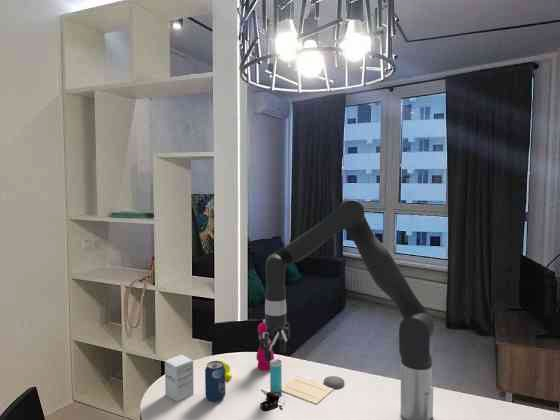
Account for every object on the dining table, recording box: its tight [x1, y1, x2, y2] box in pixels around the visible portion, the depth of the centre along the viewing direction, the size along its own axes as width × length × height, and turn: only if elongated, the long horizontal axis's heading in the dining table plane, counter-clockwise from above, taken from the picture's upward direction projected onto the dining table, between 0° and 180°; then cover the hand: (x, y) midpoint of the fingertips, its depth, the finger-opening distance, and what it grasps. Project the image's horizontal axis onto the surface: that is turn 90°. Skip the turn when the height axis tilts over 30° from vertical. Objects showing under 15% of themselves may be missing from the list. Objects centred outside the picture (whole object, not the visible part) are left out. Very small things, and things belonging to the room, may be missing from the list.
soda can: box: [204, 360, 226, 403], centre depth 134 cm, size 7×7×12 cm
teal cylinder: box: [269, 358, 283, 397], centre depth 136 cm, size 4×4×12 cm
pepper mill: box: [255, 318, 275, 372], centre depth 156 cm, size 7×7×20 cm
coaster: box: [323, 375, 345, 389], centre depth 144 cm, size 8×8×1 cm
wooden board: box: [282, 375, 335, 405], centre depth 139 cm, size 16×12×1 cm
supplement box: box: [164, 354, 195, 403], centre depth 136 cm, size 7×7×13 cm
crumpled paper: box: [221, 359, 233, 381], centre depth 148 cm, size 6×8×8 cm
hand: (275, 356), depth 136 cm, fingers open, 8 cm apart
